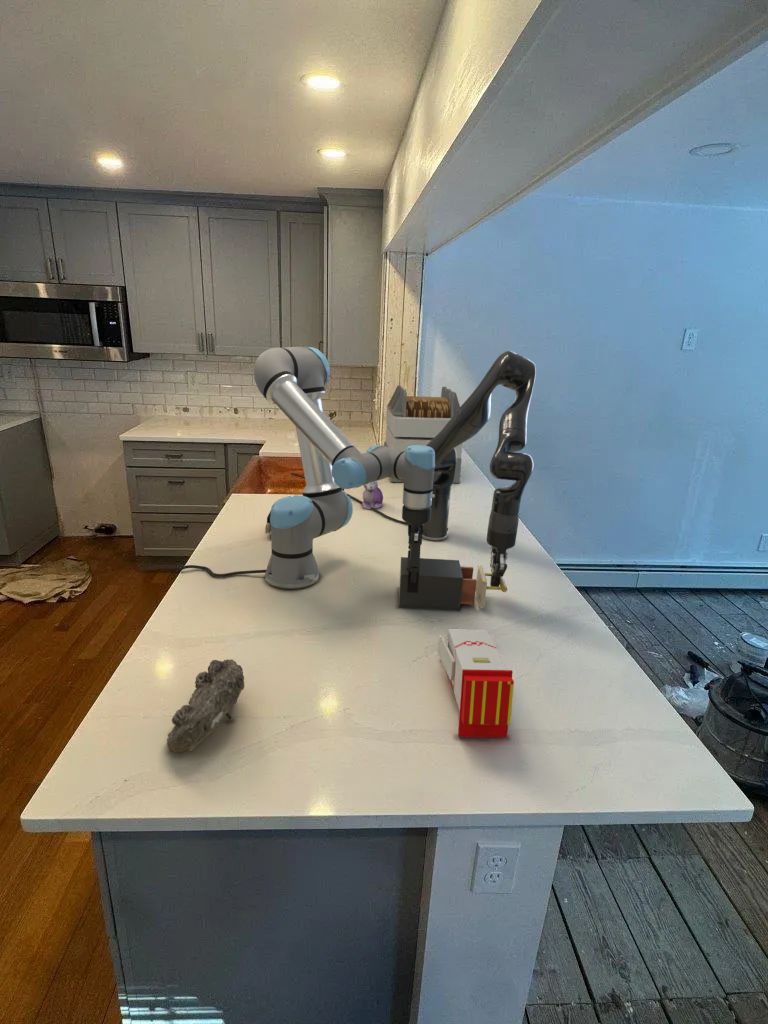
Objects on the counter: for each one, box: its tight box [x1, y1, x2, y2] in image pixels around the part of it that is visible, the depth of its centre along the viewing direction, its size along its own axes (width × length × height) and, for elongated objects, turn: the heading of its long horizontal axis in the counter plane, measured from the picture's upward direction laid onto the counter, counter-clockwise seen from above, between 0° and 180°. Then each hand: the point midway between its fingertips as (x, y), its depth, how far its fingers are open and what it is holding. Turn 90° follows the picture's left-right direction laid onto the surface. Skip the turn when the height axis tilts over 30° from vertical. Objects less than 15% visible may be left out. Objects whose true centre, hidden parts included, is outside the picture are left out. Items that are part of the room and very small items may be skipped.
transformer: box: [383, 384, 463, 484], centre depth 268 cm, size 34×33×41 cm
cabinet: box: [398, 556, 463, 612], centre depth 154 cm, size 16×11×10 cm
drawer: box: [460, 565, 508, 609], centre depth 154 cm, size 20×10×8 cm, turn 88°
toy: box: [437, 628, 515, 738], centre depth 117 cm, size 12×13×30 cm
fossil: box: [166, 658, 245, 754], centre depth 106 cm, size 22×10×15 cm
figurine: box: [361, 480, 384, 510], centre depth 224 cm, size 9×10×15 cm
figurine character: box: [265, 510, 271, 538], centre depth 195 cm, size 7×8×15 cm
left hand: (412, 581), depth 154 cm, fingers closed on cabinet, 11 cm apart
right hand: (494, 586), depth 154 cm, fingers closed
